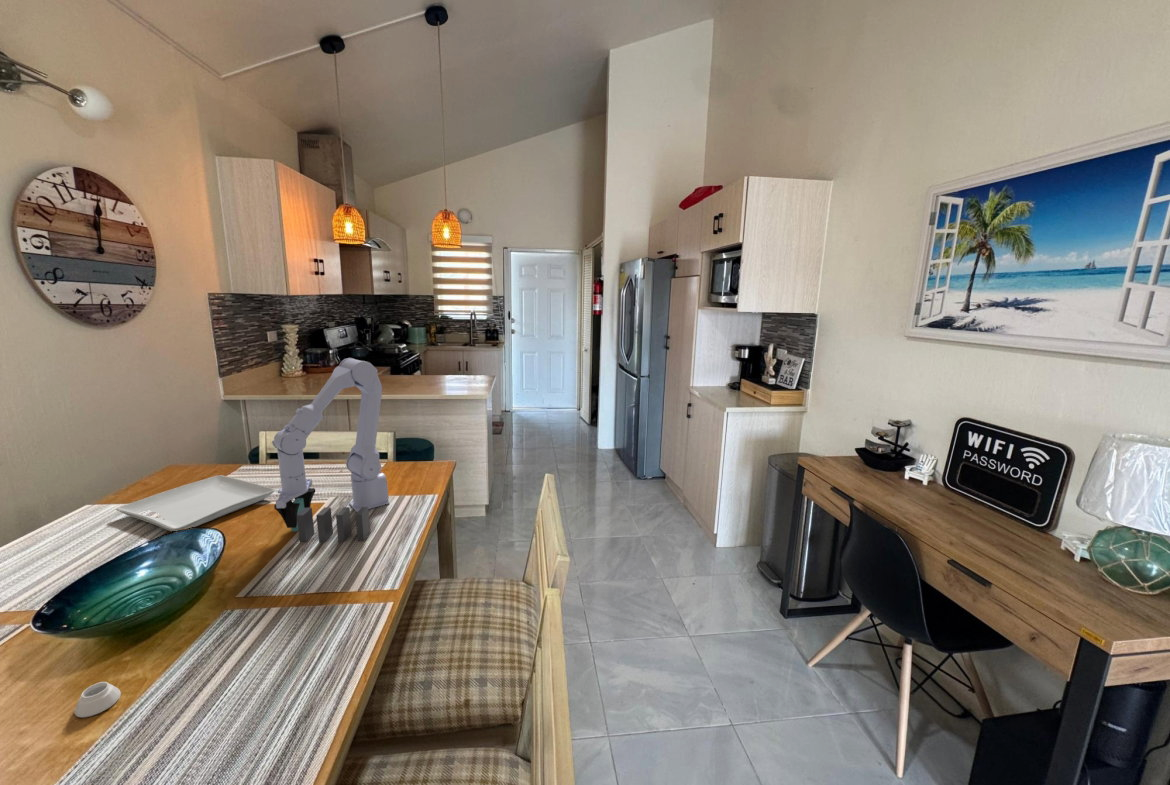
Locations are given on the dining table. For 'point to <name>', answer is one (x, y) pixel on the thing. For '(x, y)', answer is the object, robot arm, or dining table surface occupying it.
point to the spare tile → (301, 507)
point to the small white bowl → (96, 699)
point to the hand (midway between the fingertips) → (298, 521)
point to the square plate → (197, 502)
